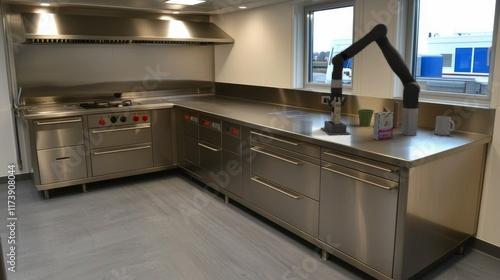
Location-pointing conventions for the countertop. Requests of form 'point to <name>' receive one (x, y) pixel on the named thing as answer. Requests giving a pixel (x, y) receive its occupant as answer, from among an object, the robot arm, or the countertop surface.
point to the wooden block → (394, 114)
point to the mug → (443, 125)
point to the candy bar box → (383, 125)
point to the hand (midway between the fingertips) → (335, 112)
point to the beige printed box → (336, 113)
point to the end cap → (335, 128)
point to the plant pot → (365, 116)
